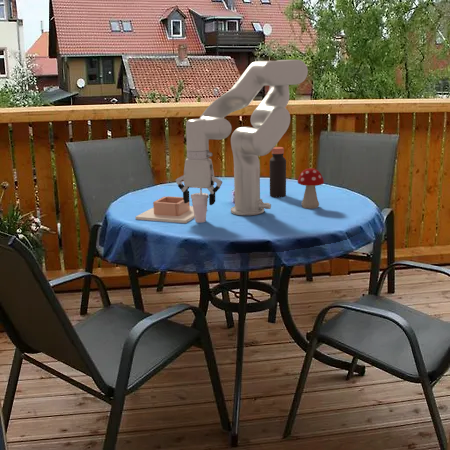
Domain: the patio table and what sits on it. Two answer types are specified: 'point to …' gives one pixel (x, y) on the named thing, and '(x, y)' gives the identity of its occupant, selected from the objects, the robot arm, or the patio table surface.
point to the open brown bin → (169, 211)
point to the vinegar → (277, 173)
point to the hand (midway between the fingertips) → (199, 203)
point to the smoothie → (200, 206)
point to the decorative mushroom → (310, 187)
